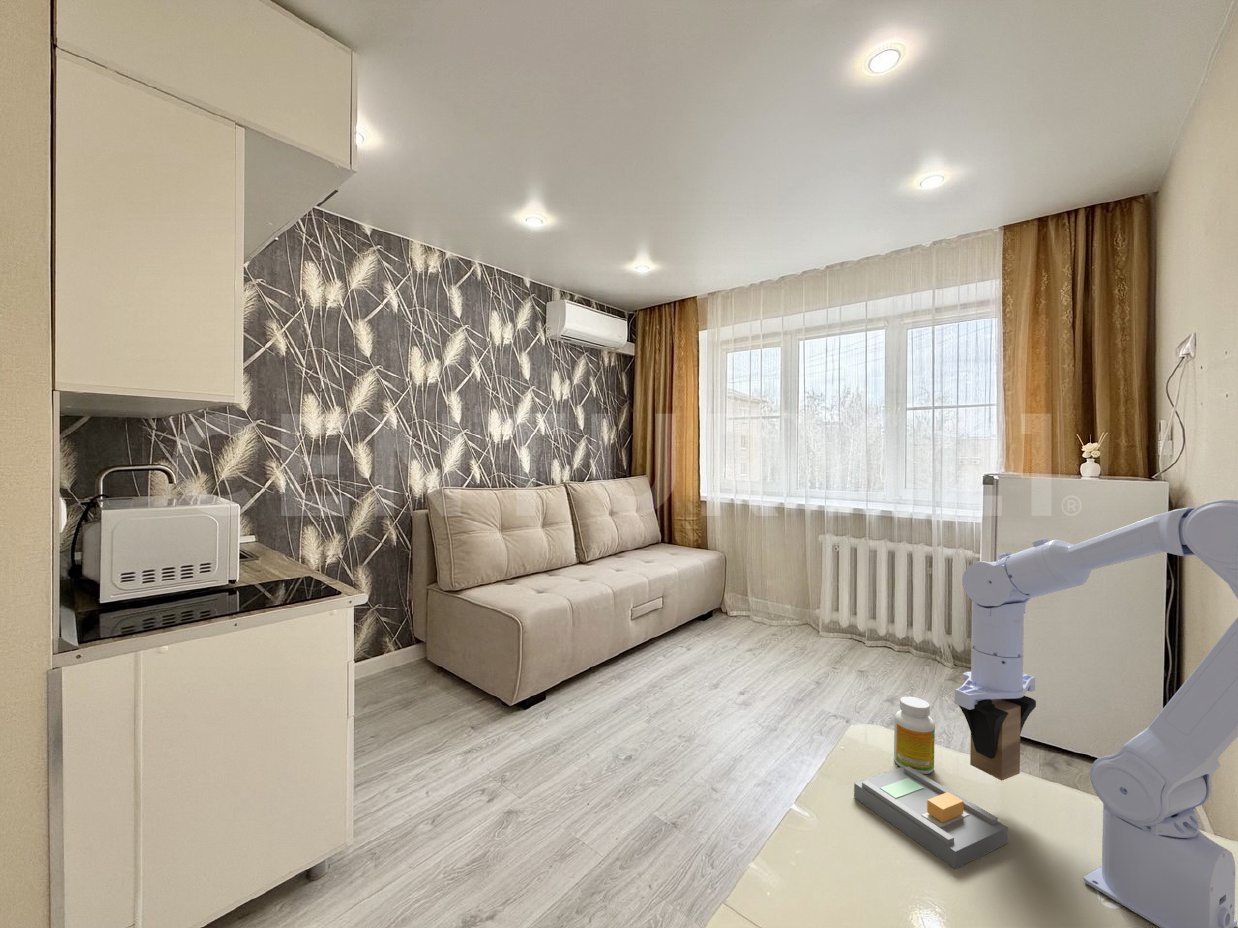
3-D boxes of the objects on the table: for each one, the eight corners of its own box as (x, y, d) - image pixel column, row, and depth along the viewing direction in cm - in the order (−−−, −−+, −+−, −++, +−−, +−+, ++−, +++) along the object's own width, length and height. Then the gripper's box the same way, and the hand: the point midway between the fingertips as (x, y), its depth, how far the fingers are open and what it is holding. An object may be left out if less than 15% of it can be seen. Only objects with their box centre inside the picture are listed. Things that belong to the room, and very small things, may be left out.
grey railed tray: (1007, 843, 65) (1008, 822, 64) (955, 868, 60) (955, 846, 60) (903, 779, 77) (903, 762, 77) (854, 797, 73) (854, 778, 73)
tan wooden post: (1019, 773, 71) (1020, 706, 71) (1001, 780, 69) (1002, 711, 69) (988, 757, 74) (989, 693, 74) (970, 764, 72) (971, 699, 72)
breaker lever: (963, 813, 66) (963, 800, 66) (942, 822, 65) (942, 809, 65) (947, 804, 68) (947, 791, 68) (927, 812, 67) (927, 799, 67)
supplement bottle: (940, 777, 78) (941, 711, 78) (900, 772, 79) (901, 707, 79) (926, 757, 83) (927, 695, 83) (889, 753, 84) (890, 692, 84)
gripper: (997, 634, 78) (996, 726, 78) (933, 648, 72) (931, 747, 72) (1053, 650, 72) (1051, 750, 72) (987, 666, 66) (985, 775, 66)
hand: (995, 750), depth 71 cm, fingers closed on tan wooden post, 4 cm apart
